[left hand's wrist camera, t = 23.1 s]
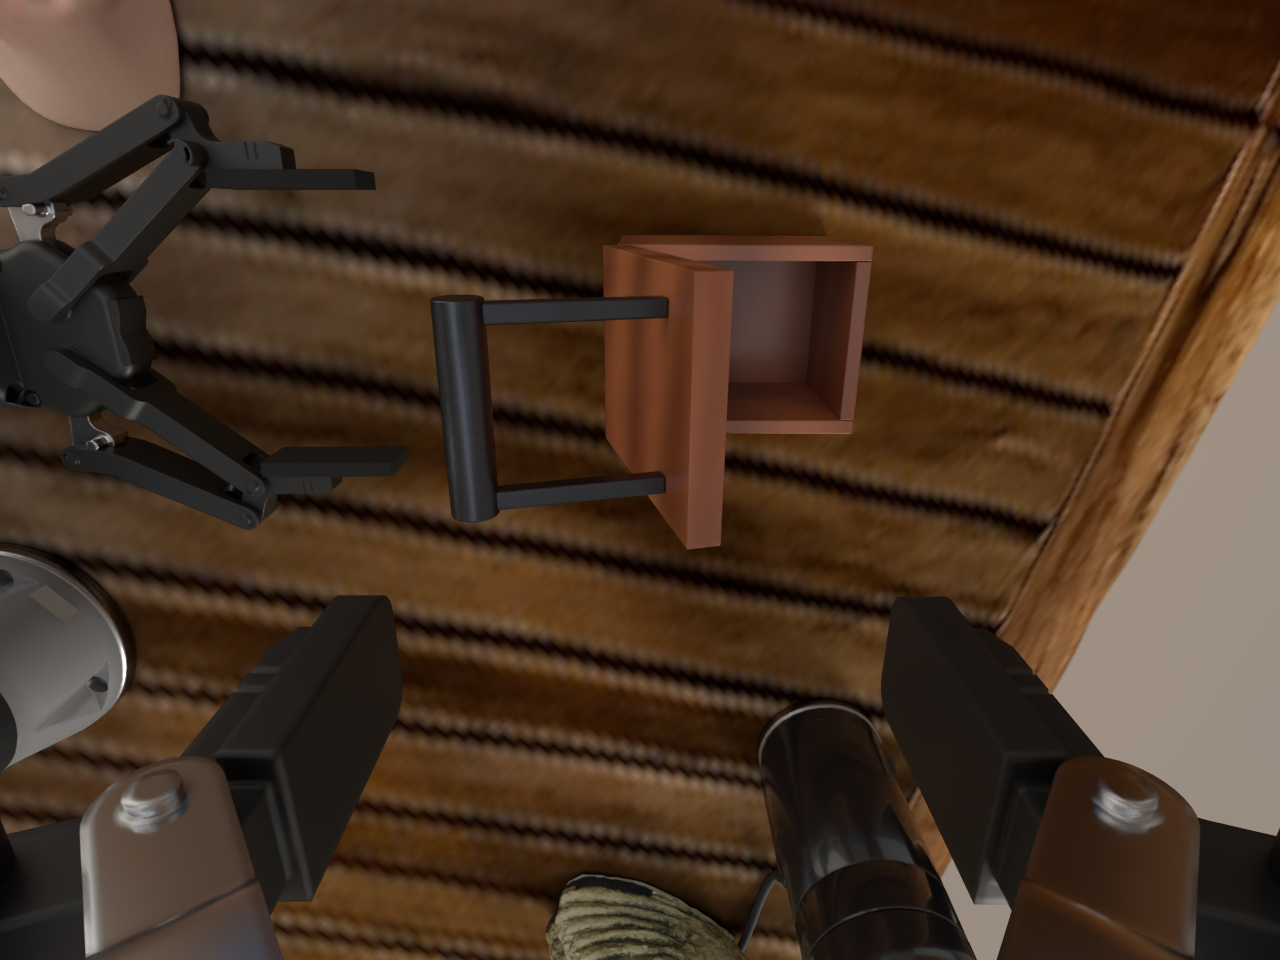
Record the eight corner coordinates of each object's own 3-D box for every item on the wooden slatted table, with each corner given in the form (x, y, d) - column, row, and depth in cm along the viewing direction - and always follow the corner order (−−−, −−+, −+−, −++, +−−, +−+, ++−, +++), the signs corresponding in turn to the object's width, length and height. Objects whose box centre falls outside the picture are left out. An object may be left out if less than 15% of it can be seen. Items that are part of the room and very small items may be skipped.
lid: (734, 269, 22) (426, 276, 20) (721, 546, 26) (456, 578, 23) (629, 244, 34) (427, 247, 32) (629, 436, 37) (447, 451, 35)
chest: (828, 235, 43) (874, 244, 34) (814, 391, 46) (852, 434, 38) (621, 234, 43) (616, 243, 34) (622, 390, 46) (618, 433, 38)
